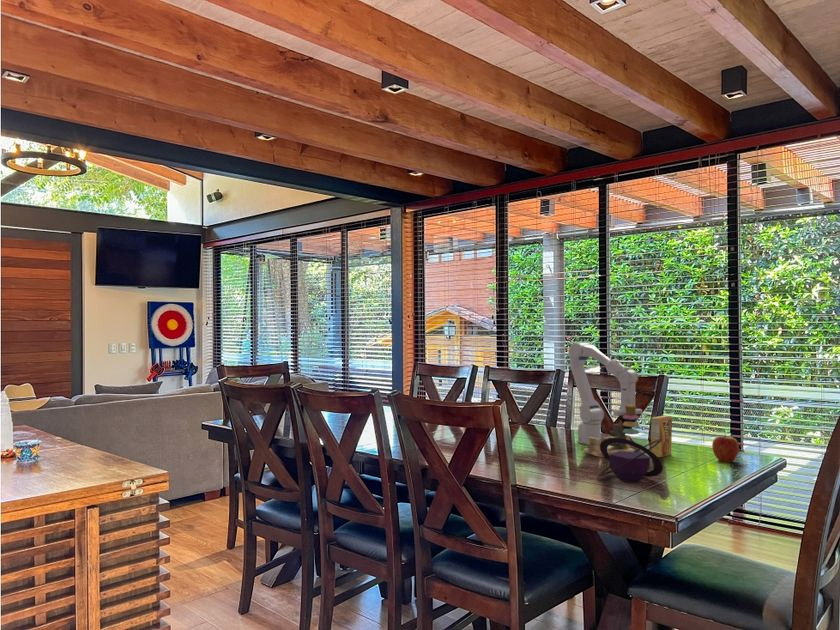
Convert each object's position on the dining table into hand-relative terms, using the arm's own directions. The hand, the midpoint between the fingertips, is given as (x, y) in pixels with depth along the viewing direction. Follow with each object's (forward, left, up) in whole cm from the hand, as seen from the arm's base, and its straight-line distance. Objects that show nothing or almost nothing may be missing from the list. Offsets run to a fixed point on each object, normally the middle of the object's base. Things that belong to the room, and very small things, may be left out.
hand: (627, 432), depth 256 cm
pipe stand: (0, -10, -7) cm, 13 cm away
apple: (+31, +19, -8) cm, 37 cm away
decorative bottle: (+36, -37, -8) cm, 52 cm away
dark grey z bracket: (0, -6, -5) cm, 8 cm away
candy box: (+13, +5, -8) cm, 16 cm away
